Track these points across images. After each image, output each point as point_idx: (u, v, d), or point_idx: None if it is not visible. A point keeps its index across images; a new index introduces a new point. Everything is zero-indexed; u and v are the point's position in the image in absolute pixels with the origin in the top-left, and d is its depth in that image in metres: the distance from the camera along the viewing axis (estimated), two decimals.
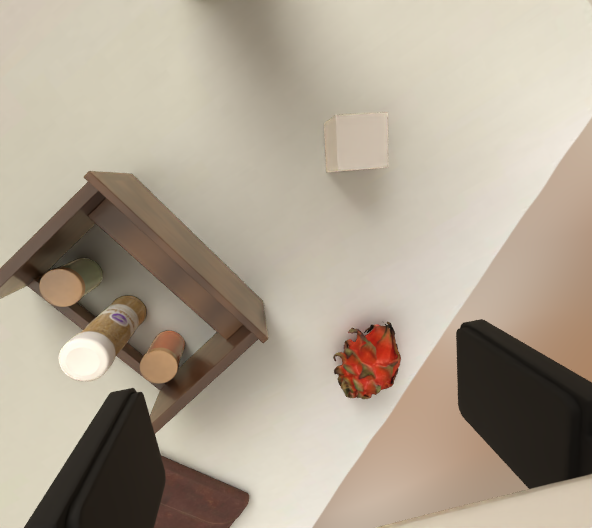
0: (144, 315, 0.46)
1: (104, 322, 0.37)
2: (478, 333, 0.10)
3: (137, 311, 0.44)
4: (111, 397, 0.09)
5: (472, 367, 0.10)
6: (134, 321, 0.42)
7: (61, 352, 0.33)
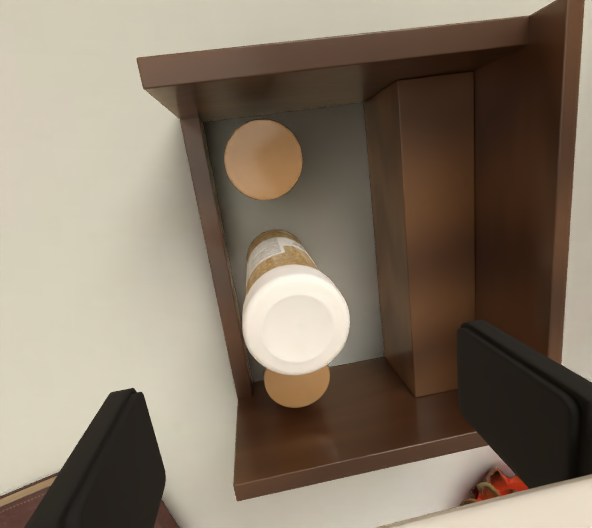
0: None
1: (316, 267, 0.18)
2: (478, 332, 0.10)
3: None
4: (111, 397, 0.09)
5: (472, 367, 0.10)
6: None
7: (275, 285, 0.14)
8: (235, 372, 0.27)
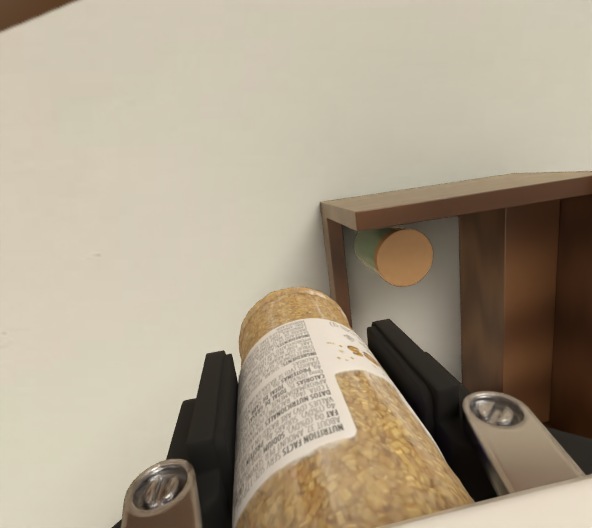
0: None
1: (462, 485, 0.06)
2: (382, 331, 0.11)
3: None
4: (209, 357, 0.10)
5: None
6: None
7: None
8: None
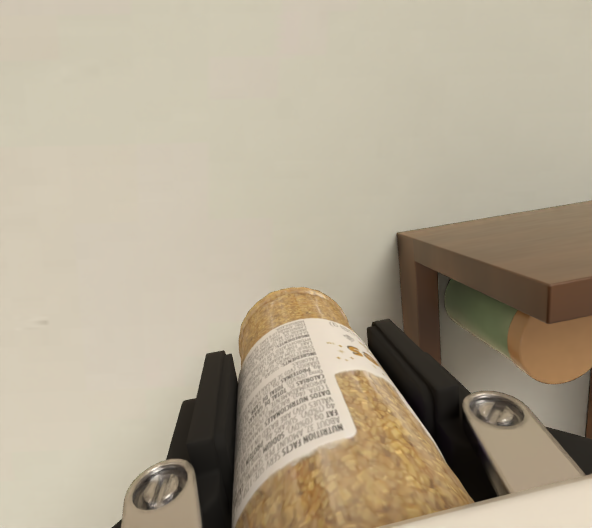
0: None
1: (462, 485, 0.06)
2: (382, 331, 0.11)
3: None
4: (209, 357, 0.10)
5: None
6: None
7: None
8: None
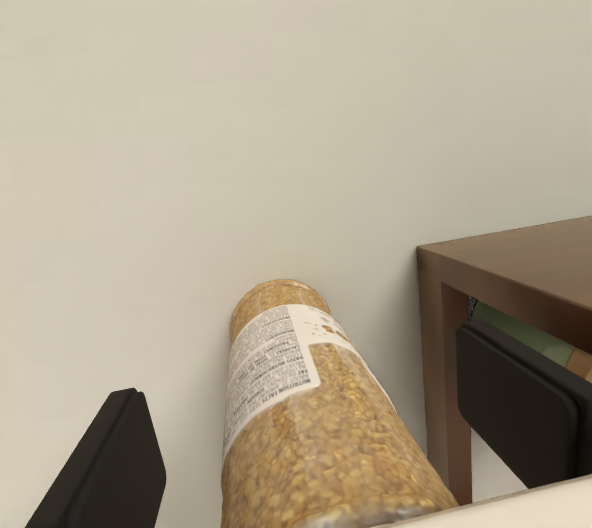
0: None
1: (403, 424, 0.07)
2: (477, 333, 0.10)
3: None
4: (112, 397, 0.09)
5: (471, 367, 0.10)
6: None
7: None
8: None
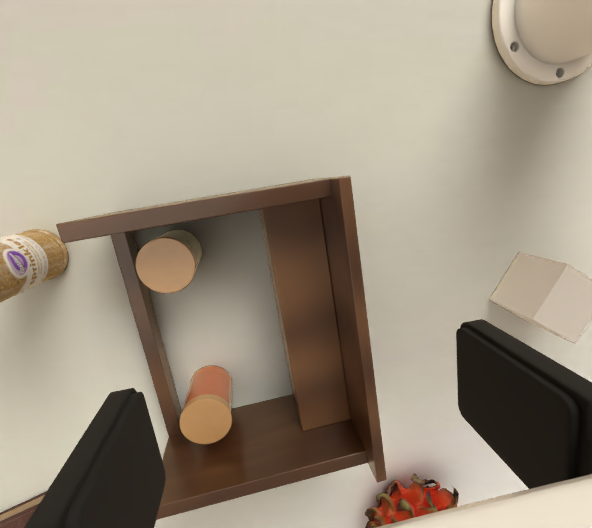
0: (58, 272, 0.31)
1: None
2: (478, 333, 0.10)
3: (52, 263, 0.29)
4: (111, 397, 0.09)
5: (472, 367, 0.10)
6: (38, 276, 0.27)
7: None
8: (165, 415, 0.34)
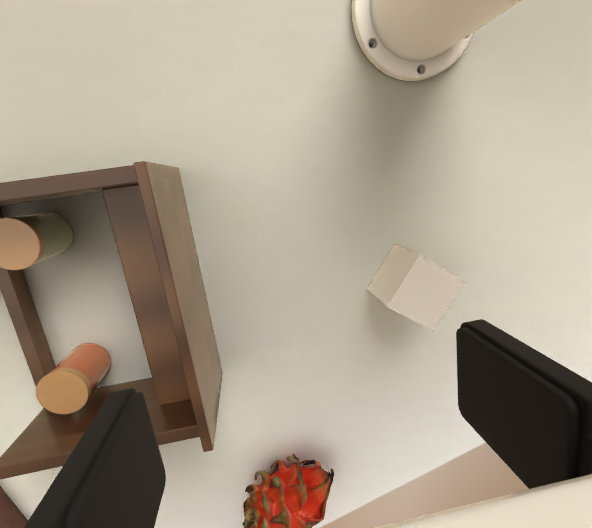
0: None
1: None
2: (478, 333, 0.10)
3: None
4: (111, 397, 0.09)
5: (472, 367, 0.10)
6: None
7: None
8: None
